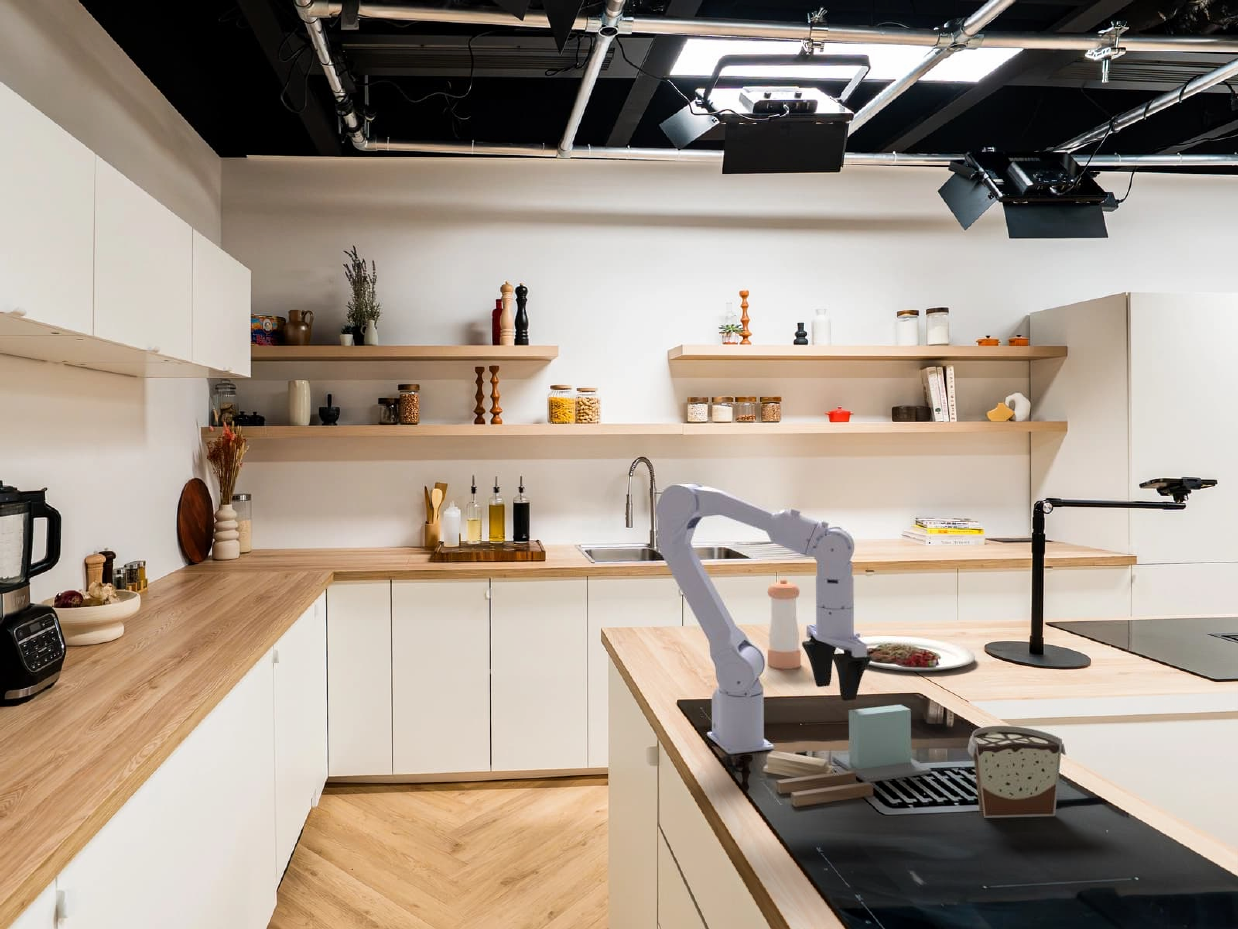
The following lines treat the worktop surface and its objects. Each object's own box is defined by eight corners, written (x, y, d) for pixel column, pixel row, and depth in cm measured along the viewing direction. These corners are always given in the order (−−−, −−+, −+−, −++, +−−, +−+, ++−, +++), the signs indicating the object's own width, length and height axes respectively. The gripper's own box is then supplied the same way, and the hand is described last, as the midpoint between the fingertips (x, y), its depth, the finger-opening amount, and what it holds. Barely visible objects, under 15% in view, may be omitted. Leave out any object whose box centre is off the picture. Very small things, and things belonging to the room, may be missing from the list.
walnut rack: (776, 791, 114) (776, 780, 114) (851, 780, 117) (851, 770, 117) (794, 806, 109) (794, 795, 109) (873, 795, 112) (872, 784, 112)
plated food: (892, 638, 208) (892, 625, 208) (1002, 662, 182) (1002, 647, 182) (809, 655, 191) (809, 641, 191) (918, 684, 166) (918, 668, 166)
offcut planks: (769, 766, 124) (769, 749, 124) (835, 778, 119) (835, 760, 119) (763, 773, 121) (763, 755, 121) (830, 786, 116) (830, 767, 116)
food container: (1040, 795, 111) (1039, 723, 111) (1066, 815, 105) (1065, 739, 105) (951, 798, 111) (951, 725, 111) (972, 818, 105) (972, 741, 105)
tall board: (849, 763, 122) (848, 710, 122) (900, 756, 125) (900, 704, 124) (858, 769, 120) (858, 715, 120) (911, 762, 122) (910, 709, 122)
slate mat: (832, 760, 125) (832, 756, 125) (894, 752, 128) (894, 748, 128) (865, 782, 116) (865, 778, 116) (931, 773, 119) (931, 769, 119)
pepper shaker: (798, 660, 185) (797, 577, 185) (802, 669, 178) (801, 582, 178) (766, 660, 186) (765, 577, 186) (769, 668, 178) (768, 582, 178)
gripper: (884, 612, 121) (885, 703, 121) (833, 596, 135) (833, 678, 135) (842, 616, 119) (843, 708, 119) (794, 599, 133) (795, 681, 133)
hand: (835, 692), depth 127 cm, fingers open, 7 cm apart
